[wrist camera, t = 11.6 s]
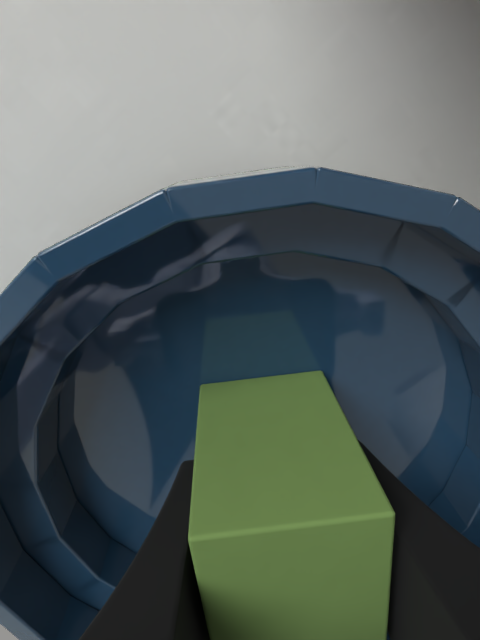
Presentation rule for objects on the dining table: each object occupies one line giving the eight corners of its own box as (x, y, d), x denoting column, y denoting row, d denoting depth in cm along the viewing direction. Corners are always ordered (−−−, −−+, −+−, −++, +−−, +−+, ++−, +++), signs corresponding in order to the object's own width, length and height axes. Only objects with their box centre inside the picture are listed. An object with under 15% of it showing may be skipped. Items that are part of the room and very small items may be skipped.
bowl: (332, 633, 17) (359, 745, 14) (-52, 520, 13) (-139, 635, 10) (618, 337, 12) (767, 401, 9) (132, 27, 8) (78, -60, 5)
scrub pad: (325, 496, 13) (386, 680, 8) (220, 510, 13) (222, 701, 8) (322, 369, 11) (397, 513, 6) (199, 383, 11) (186, 539, 6)
